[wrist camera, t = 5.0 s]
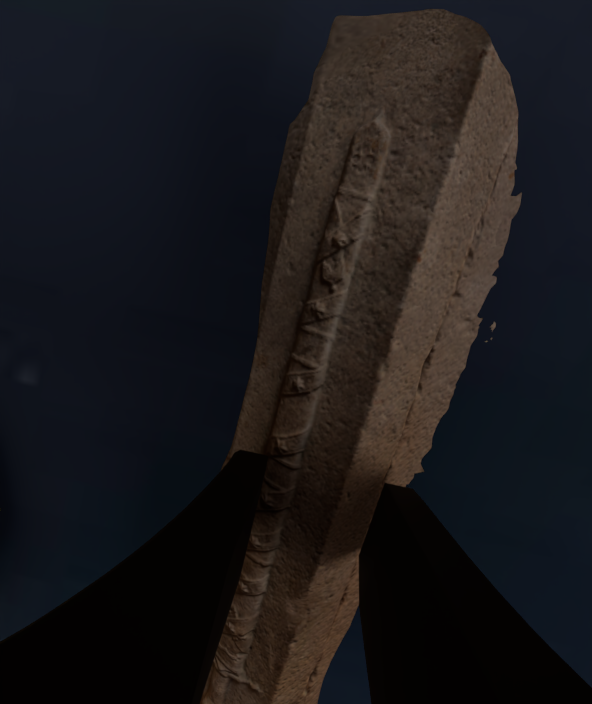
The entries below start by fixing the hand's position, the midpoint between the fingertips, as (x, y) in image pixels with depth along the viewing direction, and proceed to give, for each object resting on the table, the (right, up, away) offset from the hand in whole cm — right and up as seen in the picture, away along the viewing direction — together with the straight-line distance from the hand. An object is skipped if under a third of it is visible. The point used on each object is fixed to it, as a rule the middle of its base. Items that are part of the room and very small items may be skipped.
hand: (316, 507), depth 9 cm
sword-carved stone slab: (0, 0, +2) cm, 2 cm away
